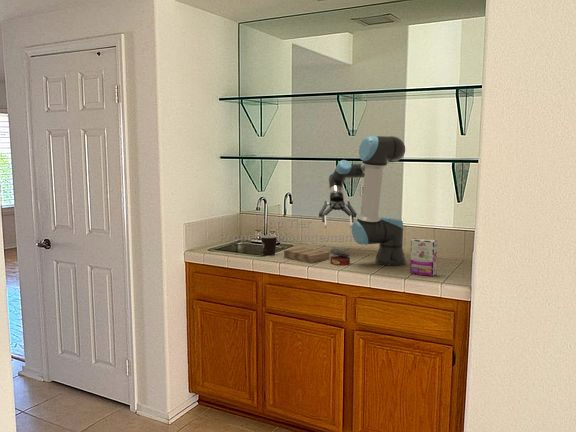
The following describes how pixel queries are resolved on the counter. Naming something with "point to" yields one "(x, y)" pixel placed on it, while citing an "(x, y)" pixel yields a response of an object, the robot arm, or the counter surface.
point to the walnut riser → (306, 255)
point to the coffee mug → (269, 245)
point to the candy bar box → (423, 257)
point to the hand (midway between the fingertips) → (338, 226)
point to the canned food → (340, 257)
